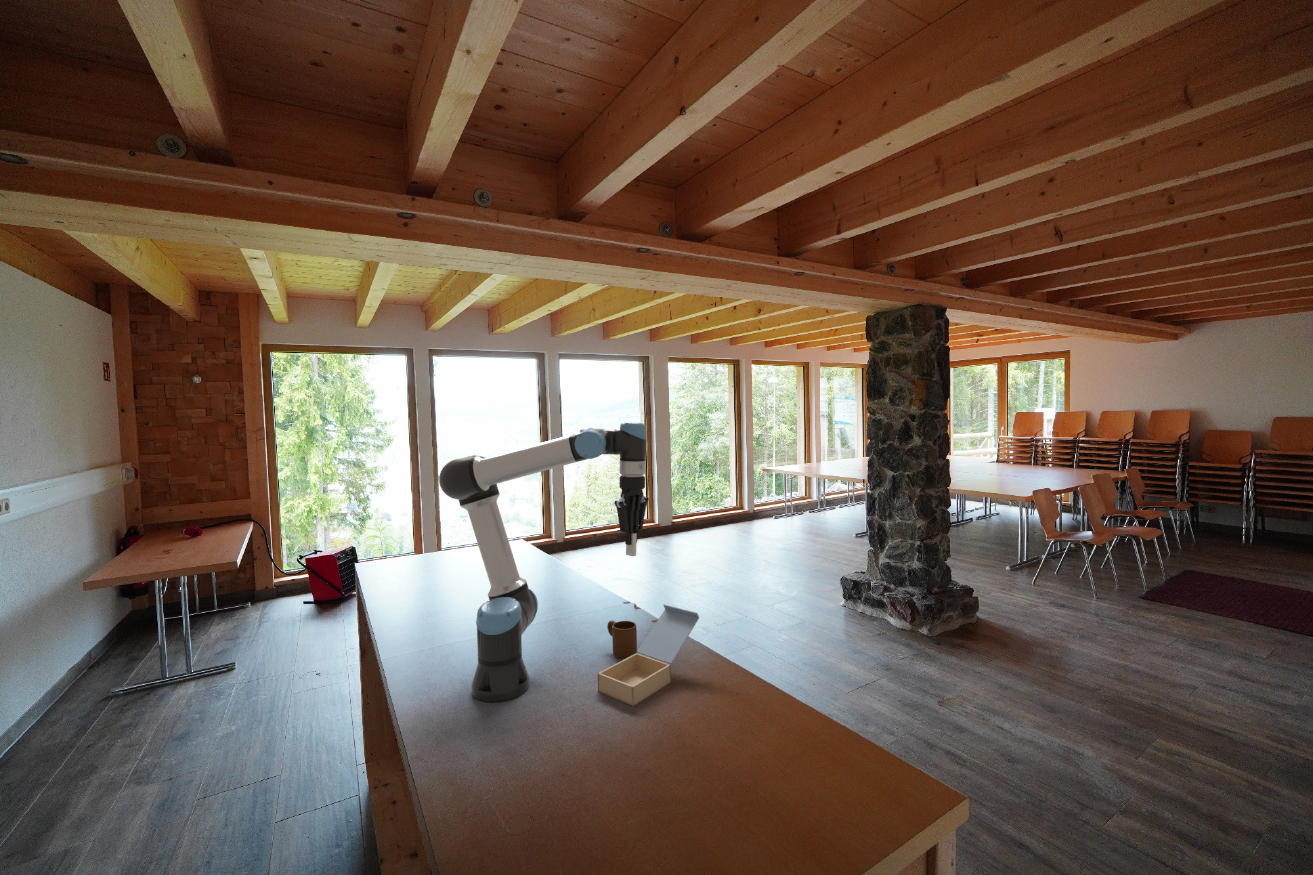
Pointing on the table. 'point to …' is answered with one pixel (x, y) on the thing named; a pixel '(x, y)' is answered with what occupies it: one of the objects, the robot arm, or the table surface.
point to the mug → (623, 638)
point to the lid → (669, 634)
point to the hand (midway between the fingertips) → (631, 555)
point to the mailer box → (634, 679)
